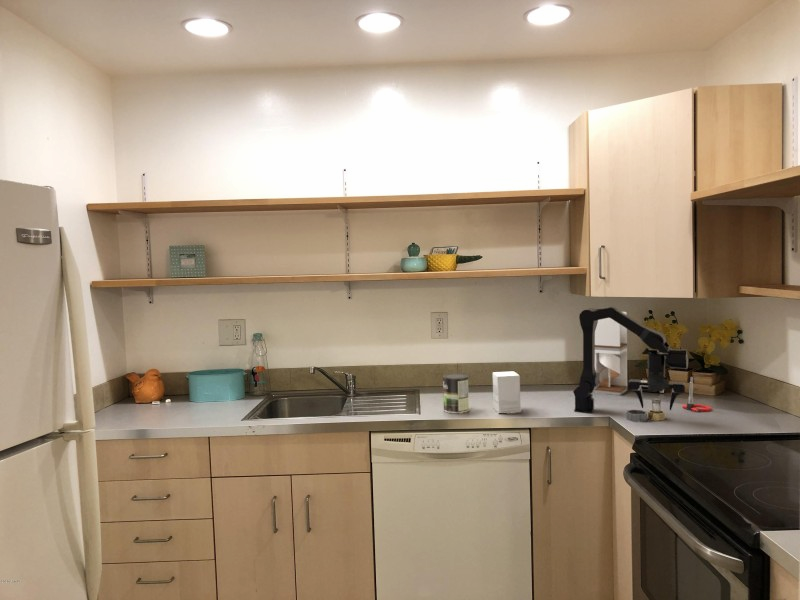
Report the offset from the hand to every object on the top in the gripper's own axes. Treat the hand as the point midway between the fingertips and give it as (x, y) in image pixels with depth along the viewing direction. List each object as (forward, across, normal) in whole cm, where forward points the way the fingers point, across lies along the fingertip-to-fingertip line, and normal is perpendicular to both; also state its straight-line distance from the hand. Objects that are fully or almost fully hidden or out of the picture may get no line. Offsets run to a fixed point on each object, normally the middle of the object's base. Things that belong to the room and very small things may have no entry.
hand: (656, 409), depth 210 cm
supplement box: (+4, -54, -7) cm, 55 cm away
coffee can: (+4, -73, -13) cm, 74 cm away
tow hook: (+4, +14, +19) cm, 24 cm away
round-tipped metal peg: (+4, 0, 0) cm, 4 cm away
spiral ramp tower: (+4, -20, +39) cm, 44 cm away
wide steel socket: (+4, -6, -3) cm, 8 cm away
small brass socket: (+4, 0, 0) cm, 4 cm away
